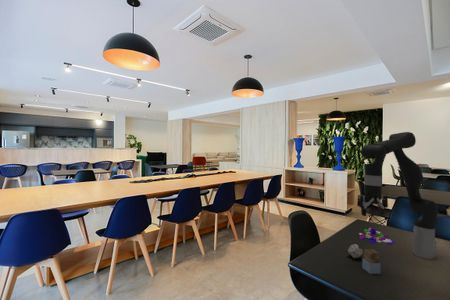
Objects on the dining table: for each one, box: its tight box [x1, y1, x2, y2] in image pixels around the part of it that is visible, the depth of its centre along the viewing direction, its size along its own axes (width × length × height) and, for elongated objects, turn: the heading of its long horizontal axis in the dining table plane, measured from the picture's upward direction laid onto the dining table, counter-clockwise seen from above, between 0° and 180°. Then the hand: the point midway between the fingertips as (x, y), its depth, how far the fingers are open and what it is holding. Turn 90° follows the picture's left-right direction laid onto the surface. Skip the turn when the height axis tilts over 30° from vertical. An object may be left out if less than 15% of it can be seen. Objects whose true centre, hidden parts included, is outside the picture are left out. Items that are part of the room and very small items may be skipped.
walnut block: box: [363, 248, 380, 263], centre depth 111 cm, size 4×4×5 cm
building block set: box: [358, 227, 396, 245], centre depth 154 cm, size 25×20×4 cm
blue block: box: [361, 257, 382, 275], centre depth 111 cm, size 6×6×5 cm
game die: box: [345, 242, 364, 260], centre depth 124 cm, size 9×8×10 cm
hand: (372, 215), depth 111 cm, fingers open, 8 cm apart
